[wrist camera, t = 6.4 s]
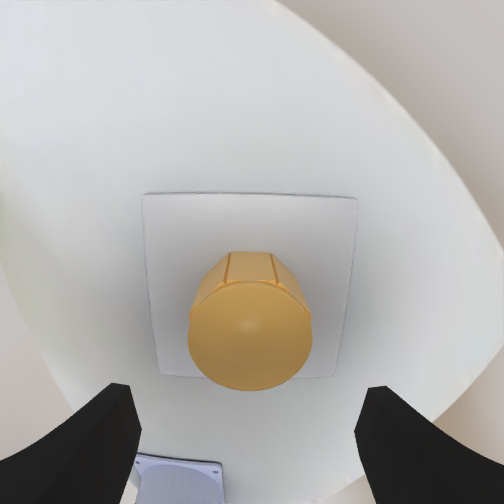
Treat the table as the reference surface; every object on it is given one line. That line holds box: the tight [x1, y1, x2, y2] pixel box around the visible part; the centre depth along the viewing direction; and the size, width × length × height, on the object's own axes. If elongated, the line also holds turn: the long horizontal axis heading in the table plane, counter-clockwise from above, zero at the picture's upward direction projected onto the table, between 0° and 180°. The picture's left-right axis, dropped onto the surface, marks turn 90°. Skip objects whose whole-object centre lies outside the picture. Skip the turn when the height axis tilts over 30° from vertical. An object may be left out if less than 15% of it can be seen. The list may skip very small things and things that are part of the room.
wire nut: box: [188, 251, 313, 391], centre depth 14 cm, size 5×5×5 cm
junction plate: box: [142, 193, 358, 379], centre depth 15 cm, size 11×11×4 cm
